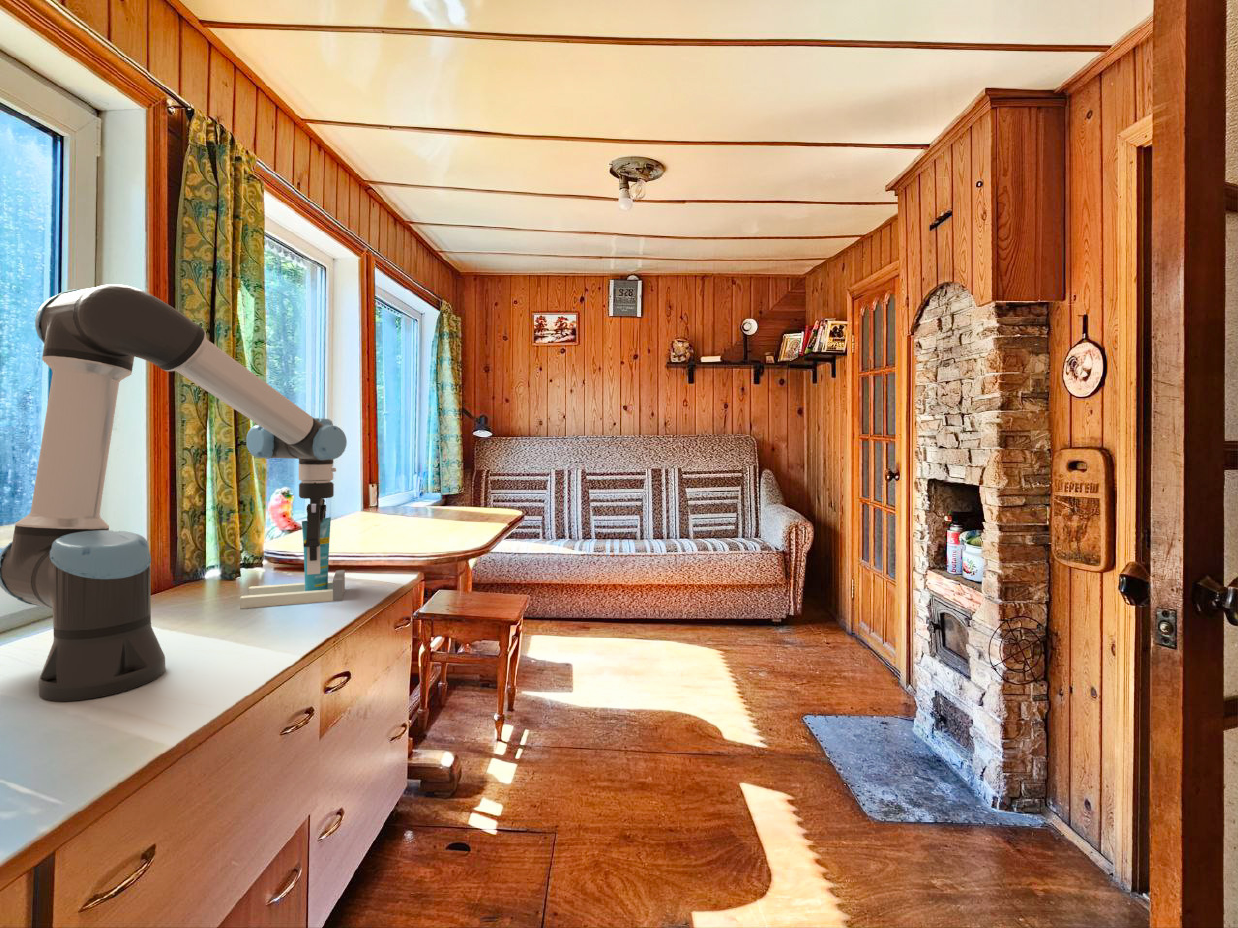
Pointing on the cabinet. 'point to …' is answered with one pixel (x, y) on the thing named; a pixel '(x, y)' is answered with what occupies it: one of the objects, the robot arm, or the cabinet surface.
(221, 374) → the robot arm
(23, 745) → the cabinet surface
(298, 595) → the track
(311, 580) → the tube
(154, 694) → the cabinet surface
